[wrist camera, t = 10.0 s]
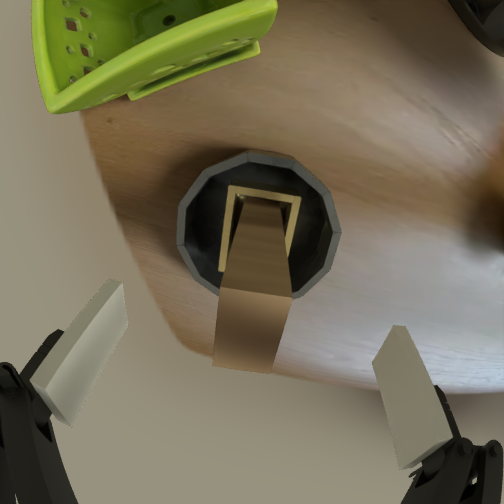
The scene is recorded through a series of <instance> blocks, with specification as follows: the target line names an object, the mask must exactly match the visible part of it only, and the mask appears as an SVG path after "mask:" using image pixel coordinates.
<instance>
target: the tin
mask: <svg viewBox="0 0 504 504" xmlns="http://www.w3.org/2000/svg"><path fill="white" fill-rule="evenodd" d="M246 196H251V197H257V198H263V199H269V200H275V201H279V203H280V210H281V216H282V223H283V230H284V237H285V244H286V251H287V258H288V265H289V273H290V280H291V288H292V296H293V299H296V298H299V297H301V296H303V295H304V294H305V293H307V292H308V291H309V290H310V289H311V288H312V287H313V286H314V285H315V284H316V283H317V282H318V281H319V280H320V279H321V278H323V277H324V276H325V275H326V274H327V273H328V272H329V271H330V270H329V269H331V266H332V263H333V260H334V256H335V253H336V250H337V246H338V243H339V240H340V236H341V228H340V224H339V220H338V217H337V213H336V209H335V206H334V203H333V199H332V196H331V192H330V191H329V190H328V188H327V187H326V186H325V185H324V184H323V183H322V182H321V181H320V180H319V179H318V178H316V177H315V176H314V175H313V174H312V173H311V172H310V171H308V170H307V169H306V168H305V167H304V166H303V165H302V164H300V163H299V162H298V161H297V160H296V159H295V158H293V157H291V156H290V155H284V154H279V153H274V152H269V151H261V150H255V149H248V150H246V151H243V152H240V153H238V154H235V155H232V156H230V157H228V158H225V159H223V160H220V161H218V162H215V163H213V164H211V165H210V166H209V167H207V168H206V169H204V170H203V171H202V173H201V174H200V175H199V177H198V178H197V179H196V181H195V182H194V183H193V185H192V186H191V188H190V189H189V190H188V192H187V193H186V195H185V196H184V197H183V199H182V200H181V202H180V203H179V205H178V215H177V234H176V245H177V248H178V250H179V252H180V254H181V256H182V258H183V260H184V262H185V263H186V265H187V267H188V269H189V271H190V273H191V275H192V277H193V278H194V279H195V281H197V282H198V283H200V284H201V285H203V286H204V287H205V288H207V289H208V290H210V291H211V292H213V293H214V294H216V295H217V296H219V292H220V285H221V282H222V278H223V275H224V271H225V267H226V264H227V260H228V257H229V253H230V250H231V246H232V243H233V239H234V236H235V232H236V229H237V225H238V222H239V219H240V215H241V212H242V208H243V205H244V202H245V198H246ZM293 299H292V300H293Z"/></svg>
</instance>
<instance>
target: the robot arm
mask: <svg viewBox="0 0 504 504" xmlns="http://www.w3.org/2000/svg"><path fill="white" fill-rule="evenodd" d="M449 1H450V3H451V4H452V6H453V7H454V9H455V10H456V12H457V13H458V15H459V16H460V18H461V19H462V20H463V22H464V23H465V24H466V25H467V27H468V28H469V29H470V30H471V31H472V33H473V34H474V35H475V36H476V37H477V38H478V39H479V40H480V41H481V42H482V43H483V44H484V45H485V46H486V47H488V48H489V49H490V50H491V51H493V52H494V53H496V54H498V55H499V56H502V57H504V0H449ZM127 327H128V320H127V313H126V307H125V299H124V291H123V283H122V282H121V281H116V280H112V279H108V280H107V281H106V283H105V284H104V285H103V286H102V287H101V288H100V290H99V291H98V292H97V293H96V294H95V295H94V296H93V298H92V299H91V300H90V301H89V302H88V304H87V305H86V306H85V307H84V308H83V310H82V311H81V312H80V313H79V314H78V316H77V317H76V318H75V320H74V321H73V322H72V323H71V325H70V326H69V327H68V328H67V330H66V331H65V332H64V331H62V330H59V329H58V330H56V331H55V332H53V333H52V334H50V335H49V336H48V337H47V338H46V340H45V341H44V342H43V345H41V346H40V348H39V349H38V351H37V352H35V354H34V355H33V357H32V358H31V359H30V361H29V362H28V363H27V365H26V366H25V368H24V369H23V370H22V372H21V373H20V374H18V372H17V371H16V369H15V368H14V366H12V364H10V363H8V362H1V363H0V504H16V498H15V494H16V497H17V500H18V503H19V504H78V502H77V499H76V498H75V495H74V492H73V490H72V487H71V485H70V482H69V480H68V477H67V474H66V471H65V469H64V466H63V462H62V459H61V457H60V453H59V450H58V446H57V443H56V439H55V435H54V431H53V427H52V423H51V420H50V416H51V414H53V415H54V416H55V418H56V419H57V420H58V421H61V422H62V423H64V424H66V425H68V426H70V427H73V425H74V423H75V420H76V419H77V417H78V415H79V413H80V410H81V409H82V407H83V405H84V403H85V401H86V399H87V397H88V395H89V393H90V392H91V390H92V388H93V386H94V384H95V382H96V380H97V379H98V377H99V375H100V373H101V371H102V370H103V368H104V366H105V364H106V363H107V361H108V359H109V357H110V356H111V354H112V352H113V350H114V348H115V347H116V345H117V344H118V342H119V340H120V339H121V337H122V335H123V334H124V332H125V330H126V329H127ZM372 365H373V369H374V372H375V375H376V379H377V382H378V385H379V389H380V392H381V396H382V399H383V403H384V407H385V411H386V414H387V418H388V422H389V426H390V430H391V434H392V439H393V443H394V448H395V452H396V457H397V461H398V465H399V470H403V469H407V468H412V467H414V466H416V465H417V464H418V463H420V462H422V467H420V468H419V469H417V470H416V471H414V472H412V473H411V474H410V475H409V478H410V477H412V476H414V475H415V474H416V476H415V477H414V478H413V482H412V484H411V486H410V488H409V489H408V491H407V493H406V495H405V497H404V498H403V500H402V502H401V504H500V502H501V492H502V480H503V449H502V446H501V444H500V443H499V442H498V441H496V440H491V441H489V442H488V443H487V444H486V445H484V446H475V445H473V444H472V442H471V441H470V440H469V439H467V438H464V437H463V438H462V437H461V435H460V433H459V430H458V427H457V425H456V422H455V419H454V417H453V414H452V412H451V411H450V407H449V404H447V399H446V397H445V395H444V393H443V391H442V390H441V389H440V388H439V387H438V385H433V384H432V381H431V379H430V377H429V374H428V372H427V370H426V368H425V365H424V363H423V361H422V359H421V357H420V355H419V352H418V350H417V348H416V346H415V344H414V342H413V340H412V338H411V336H410V334H409V332H408V330H407V328H406V326H396V325H393V327H392V329H391V331H390V333H389V334H388V336H387V338H386V340H385V341H384V343H383V345H382V347H381V348H380V350H379V352H378V353H377V355H376V357H375V358H374V360H373V362H372ZM476 477H477V482H476V483H475V484H472V480H473V479H474V478H476Z"/></svg>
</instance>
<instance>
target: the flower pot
mask: <svg viewBox="0 0 504 504" xmlns="http://www.w3.org/2000/svg"><path fill="white" fill-rule="evenodd" d="M64 5H65V6H64ZM277 9H278V4H277V0H32V5H31V24H32V25H31V26H32V44H33V52H34V59H35V66H36V71H37V77H38V81H39V85H40V89H41V93H42V96H43V99H44V103H45V106H46V108H47V110H48V112H49V113H51V114H62V113H68V112H74V111H79V110H83V109H87V108H90V107H93V106H97V105H100V104H103V103H106V102H108V101H111V100H113V99H116V98H118V97H120V96H122V95H124V94H127V95H128V97H129V99H130V100H131V101H135V100H138V99H140V98H143V97H145V96H147V95H149V94H152V93H154V92H156V91H159V90H161V89H163V88H166V87H168V86H171V85H173V84H176V83H178V82H181V81H184V80H186V79H189V78H192V77H194V76H197V75H199V74H202V73H205V72H208V71H211V70H214V69H217V68H220V67H223V66H226V65H229V64H232V63H235V62H239V61H242V60H245V59H249V58H252V57H255V56H257V55H259V54H260V46H259V42H258V40H259V39H261V38H262V37H263V36H264V35H265V34H266V33H267V32H268V31H269V29H270V28H271V26H272V24H273V22H274V19H275V16H276V13H277ZM80 11H82V12H83V13H85V14H86V15H87V18H85V17H83V16H82V15H81V14H80ZM67 21H70V22H75V23H76V27H77V31H71V30H69V29H68V27H67ZM89 36H90V37H91V38H92V39H90V38H89ZM81 47H83V48H86V49H87V50H88V53H89V57H87V56H84V55H83V54H82V52H81ZM67 50H68V51H69V52H70V53H71V54H70V53H69V52H68V51H67ZM99 63H100V64H101V65H100V64H99ZM84 70H89V71H91V72H90V73H88V74H86V75H84ZM70 79H72V80H73V81H75V82H74V83H72V82H70Z"/></svg>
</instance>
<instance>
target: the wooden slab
mask: <svg viewBox="0 0 504 504" xmlns="http://www.w3.org/2000/svg"><path fill="white" fill-rule="evenodd" d="M292 299H293V296H292V288H291V280H290V273H289V265H288V258H287V251H286V244H285V237H284V230H283V223H282V216H281V210H280V203H279V201H275V200H269V199H263V198H257V197H251V196H246V198H245V202H244V205H243V208H242V212H241V215H240V219H239V222H238V225H237V229H236V232H235V236H234V239H233V243H232V246H231V250H230V253H229V257H228V260H227V264H226V267H225V271H224V275H223V278H222V282H221V285H220V292H219V301H218V311H217V321H216V331H215V341H214V352H213V364H212V366H217V367H223V368H229V369H235V370H242V371H249V372H258V373H265V374H270V371H271V368H272V365H273V362H274V359H275V356H276V353H277V349H278V346H279V343H280V340H281V336H282V333H283V330H284V326H285V323H286V320H287V316H288V313H289V309H290V306H291V302H292Z"/></svg>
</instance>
